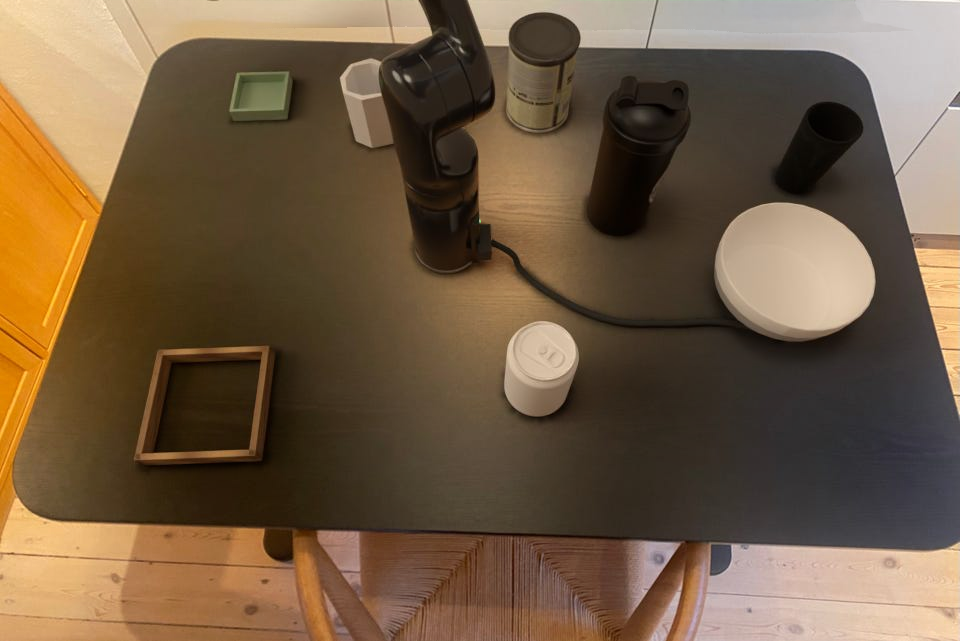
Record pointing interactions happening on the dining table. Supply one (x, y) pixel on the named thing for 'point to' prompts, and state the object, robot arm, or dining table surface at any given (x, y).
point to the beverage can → (540, 368)
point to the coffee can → (541, 70)
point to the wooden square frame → (158, 395)
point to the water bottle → (636, 151)
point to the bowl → (793, 272)
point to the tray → (261, 96)
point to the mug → (366, 103)
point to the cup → (817, 145)
